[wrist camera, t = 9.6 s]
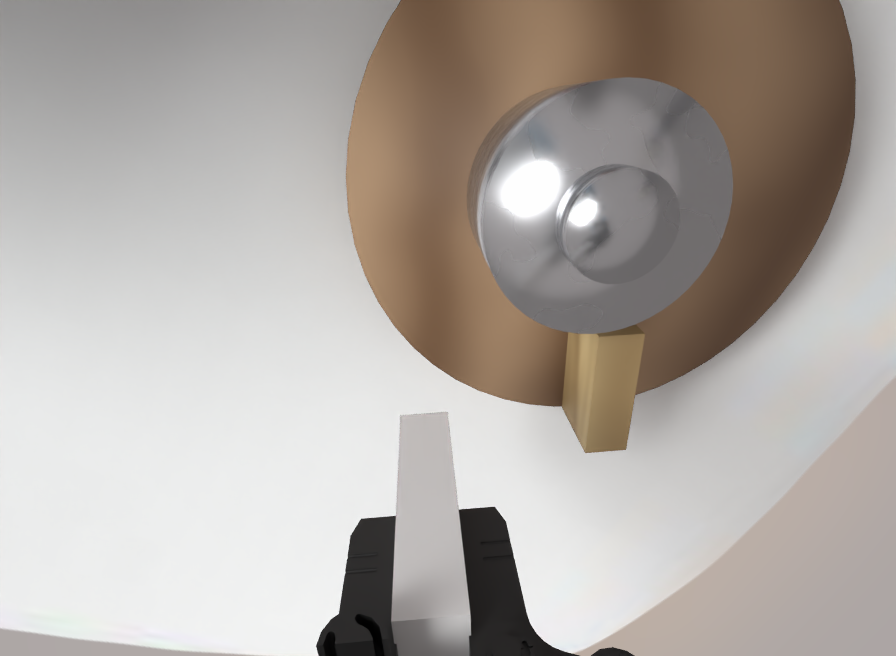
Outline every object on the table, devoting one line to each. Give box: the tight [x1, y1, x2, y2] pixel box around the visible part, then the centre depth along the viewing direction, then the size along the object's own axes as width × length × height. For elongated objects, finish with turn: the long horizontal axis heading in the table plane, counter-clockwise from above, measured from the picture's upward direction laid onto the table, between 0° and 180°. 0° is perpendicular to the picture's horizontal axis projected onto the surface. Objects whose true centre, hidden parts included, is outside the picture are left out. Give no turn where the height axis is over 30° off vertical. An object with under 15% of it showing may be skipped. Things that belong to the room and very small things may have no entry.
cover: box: [466, 77, 733, 334], centre depth 14 cm, size 7×7×5 cm
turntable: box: [346, 0, 855, 453], centre depth 16 cm, size 18×18×5 cm
